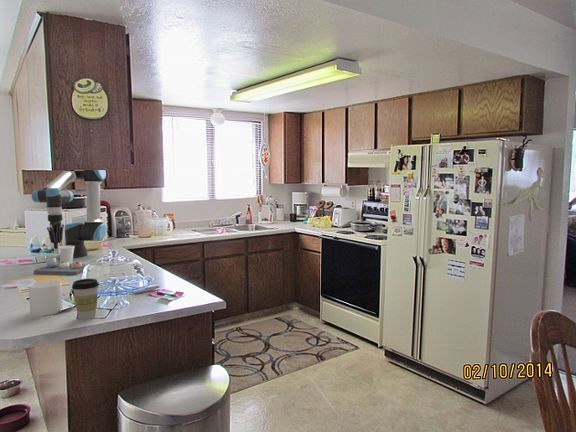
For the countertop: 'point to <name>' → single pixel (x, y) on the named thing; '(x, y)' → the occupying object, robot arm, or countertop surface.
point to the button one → (51, 262)
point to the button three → (77, 265)
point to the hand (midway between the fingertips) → (57, 253)
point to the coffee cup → (86, 297)
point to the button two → (64, 265)
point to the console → (59, 270)
